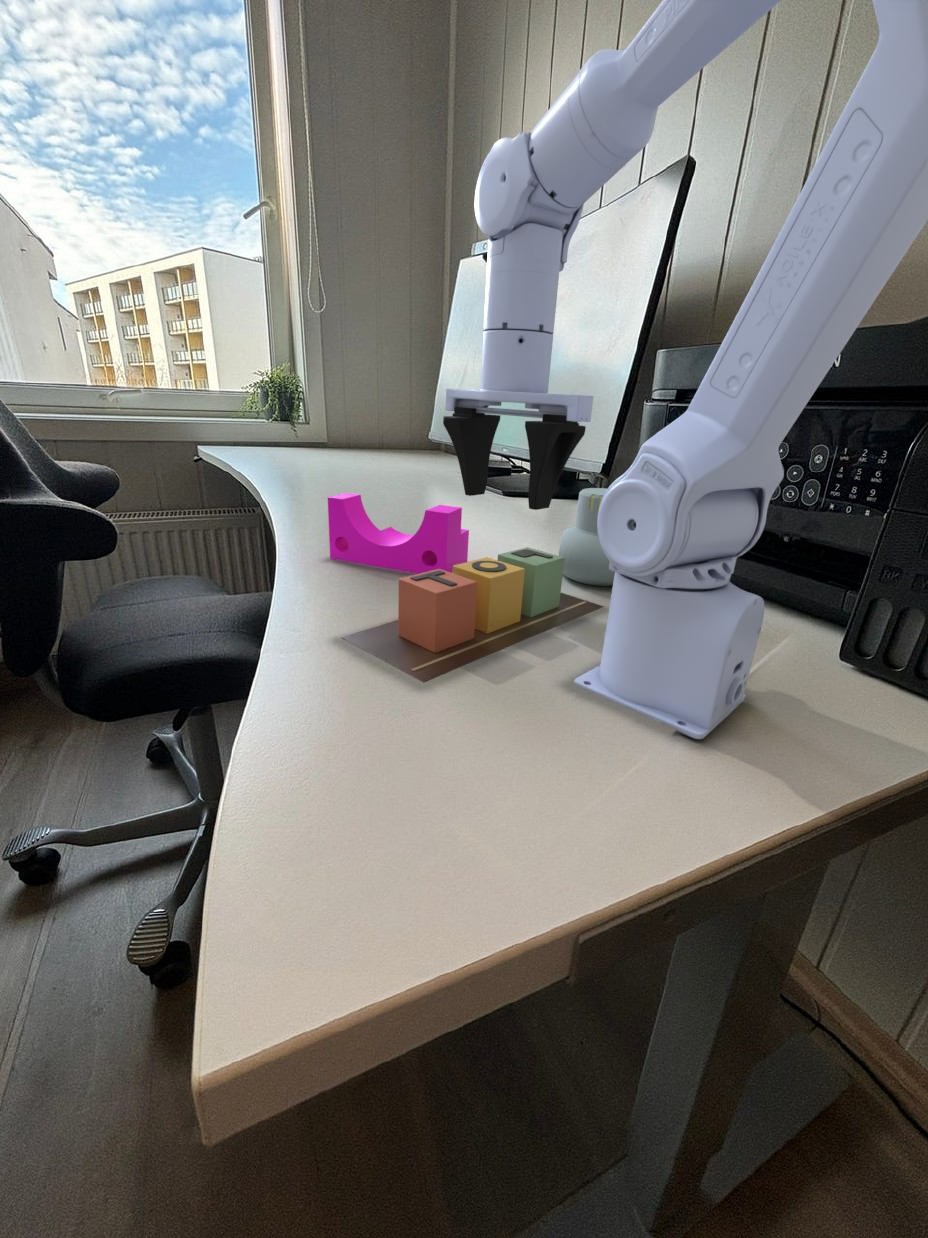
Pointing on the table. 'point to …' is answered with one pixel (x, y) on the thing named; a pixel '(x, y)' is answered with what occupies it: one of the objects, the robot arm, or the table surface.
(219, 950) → the table surface
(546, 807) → the table surface
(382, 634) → the word board
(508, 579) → the yellow cube
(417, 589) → the orange letter t block
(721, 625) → the robot arm
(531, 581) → the green square block
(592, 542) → the air freshener
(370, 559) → the toy block
